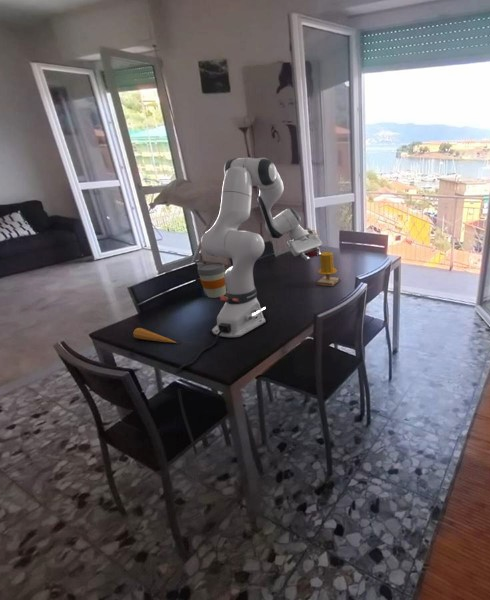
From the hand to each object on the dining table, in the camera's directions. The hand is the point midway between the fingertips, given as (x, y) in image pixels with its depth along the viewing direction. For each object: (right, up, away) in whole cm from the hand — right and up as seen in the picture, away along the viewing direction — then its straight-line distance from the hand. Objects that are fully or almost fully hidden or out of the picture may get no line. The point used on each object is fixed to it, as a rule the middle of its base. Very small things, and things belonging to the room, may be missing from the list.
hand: (314, 257), depth 192 cm
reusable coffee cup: (-48, -20, -12) cm, 53 cm away
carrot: (-54, -39, -53) cm, 85 cm away
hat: (+7, -8, -2) cm, 11 cm away
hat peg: (+8, -13, 0) cm, 16 cm away
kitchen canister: (-10, +8, +49) cm, 51 cm away
